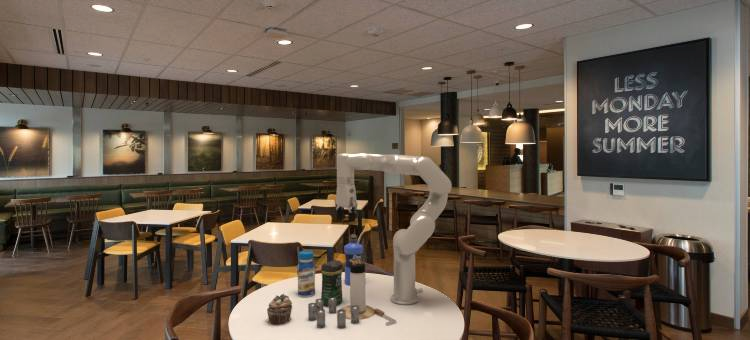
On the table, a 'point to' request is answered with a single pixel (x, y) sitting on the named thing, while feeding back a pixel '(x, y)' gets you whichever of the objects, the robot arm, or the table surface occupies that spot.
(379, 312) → the hook tool
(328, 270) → the coffee jar
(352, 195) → the robot arm
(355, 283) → the travel mug
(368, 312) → the round wooden board
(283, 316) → the cupcake
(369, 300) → the table surface
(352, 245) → the water bottle
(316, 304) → the spacer field
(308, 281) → the beverage bottle
